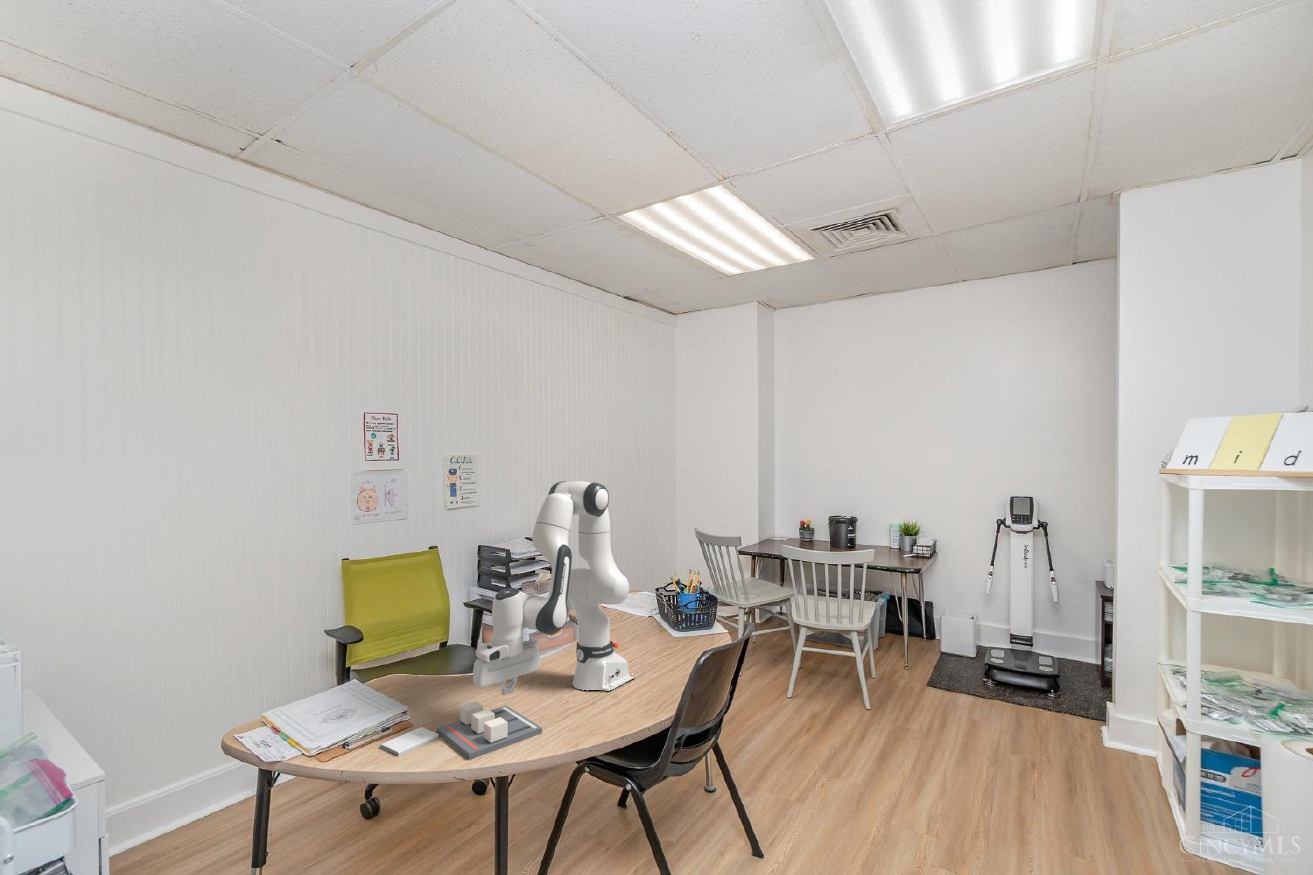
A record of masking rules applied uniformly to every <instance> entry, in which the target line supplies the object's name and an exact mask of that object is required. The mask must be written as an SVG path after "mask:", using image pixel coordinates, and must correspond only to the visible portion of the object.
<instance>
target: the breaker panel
mask: <svg viewBox="0 0 1313 875" xmlns="http://www.w3.org/2000/svg"><path fill="white" fill-rule="evenodd" d="M489 710H490V711H492V712H493V713H495V719H496V718H499V717H501V718H502V719H504V720H505V721H507V722H508V732H507V737H505V738H503V739H500V740H497V741H494V742H491V743H490V742H489V741H488V740H486V739H485V738H484V737H483V736H484V732H481V733H477V732H475V731H474V730H473V729H471V724H468V725H466V724H465V723H463V722H462V721H461V720H460V719H458V720H456V721H453V722H449V723H445V724H442V725H439V726H437V727H436V733H437V734H439V736H440V737H441V738H442V739H443V740H445V741H446V742H447V743H449V745H451V746H452V745H453V746H452V747H453V748H454V749H456V750H457V751H458V752H459V753H461V754H462V755H463V756H464V757H465V758H467V759H468V761H469V760H473V759H475V758H478V757H481V756H483V755H486V754H489V753H491V752H495V751H498V750H500V749H503V748H505V747H508V746H511V745H513V744H515V743H519V742H522V741H524V740H527V739H531V738H532V737H535V736H538V735H541V734H543V727H542V726H540V725H539V724H538V723H535V722H534V721H532V720H530V719H529V718H527V717H526V716H525V715H523V714H521V713H520V712H518V711H517V710H514V708H511V707H510V706H508V705H506V704H505V705H503V706H500V707H497V708H493V709H489Z"/></svg>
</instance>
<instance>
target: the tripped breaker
mask: <svg viewBox="0 0 1313 875" xmlns="http://www.w3.org/2000/svg"><path fill="white" fill-rule="evenodd" d="M490 710H491V709H488V708H487V709H485V710H484V709H483V711H480V712H477V713H474V714H472V718H471V729H473V730H474V731H475V732H477V733H481V732H484V722H487V721H490V720H493V719H495V713H493V712H492V711H490Z"/></svg>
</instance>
